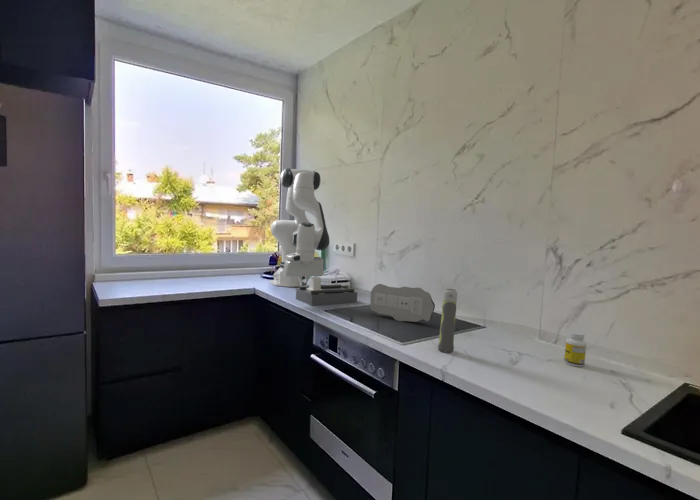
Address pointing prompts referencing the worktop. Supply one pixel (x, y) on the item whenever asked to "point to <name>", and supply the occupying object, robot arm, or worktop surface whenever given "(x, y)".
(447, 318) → the grey tall cylinder
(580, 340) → the supplement bottle
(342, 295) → the breaker housing
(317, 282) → the breaker lever
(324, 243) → the robot arm
